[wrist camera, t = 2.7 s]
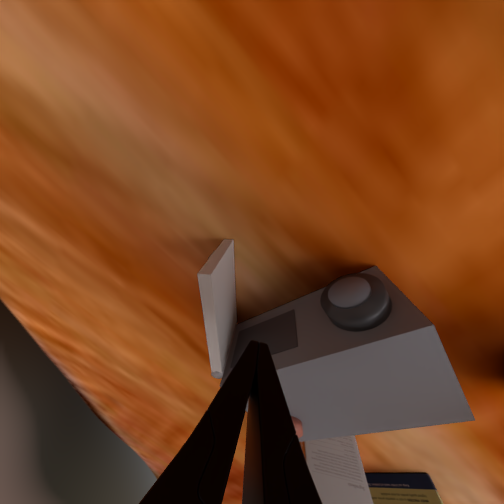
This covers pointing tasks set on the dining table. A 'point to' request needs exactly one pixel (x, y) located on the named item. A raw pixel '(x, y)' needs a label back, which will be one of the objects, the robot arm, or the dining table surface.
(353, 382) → the camera block
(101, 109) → the dining table surface
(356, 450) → the small box
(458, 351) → the dining table surface
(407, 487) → the protein box
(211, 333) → the side door
